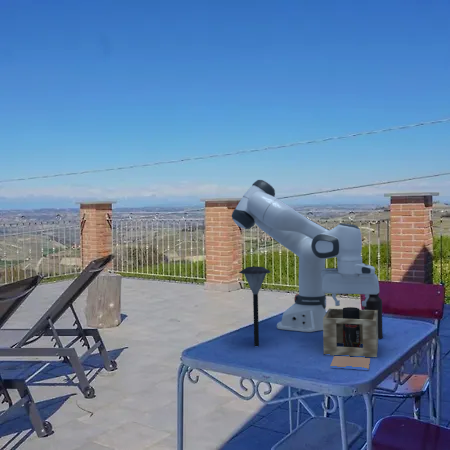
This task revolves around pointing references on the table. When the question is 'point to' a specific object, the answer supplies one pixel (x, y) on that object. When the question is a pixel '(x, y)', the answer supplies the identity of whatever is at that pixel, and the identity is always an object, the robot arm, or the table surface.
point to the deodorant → (351, 328)
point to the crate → (335, 333)
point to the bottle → (375, 304)
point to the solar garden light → (255, 292)
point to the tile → (350, 361)
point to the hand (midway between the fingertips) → (350, 306)
